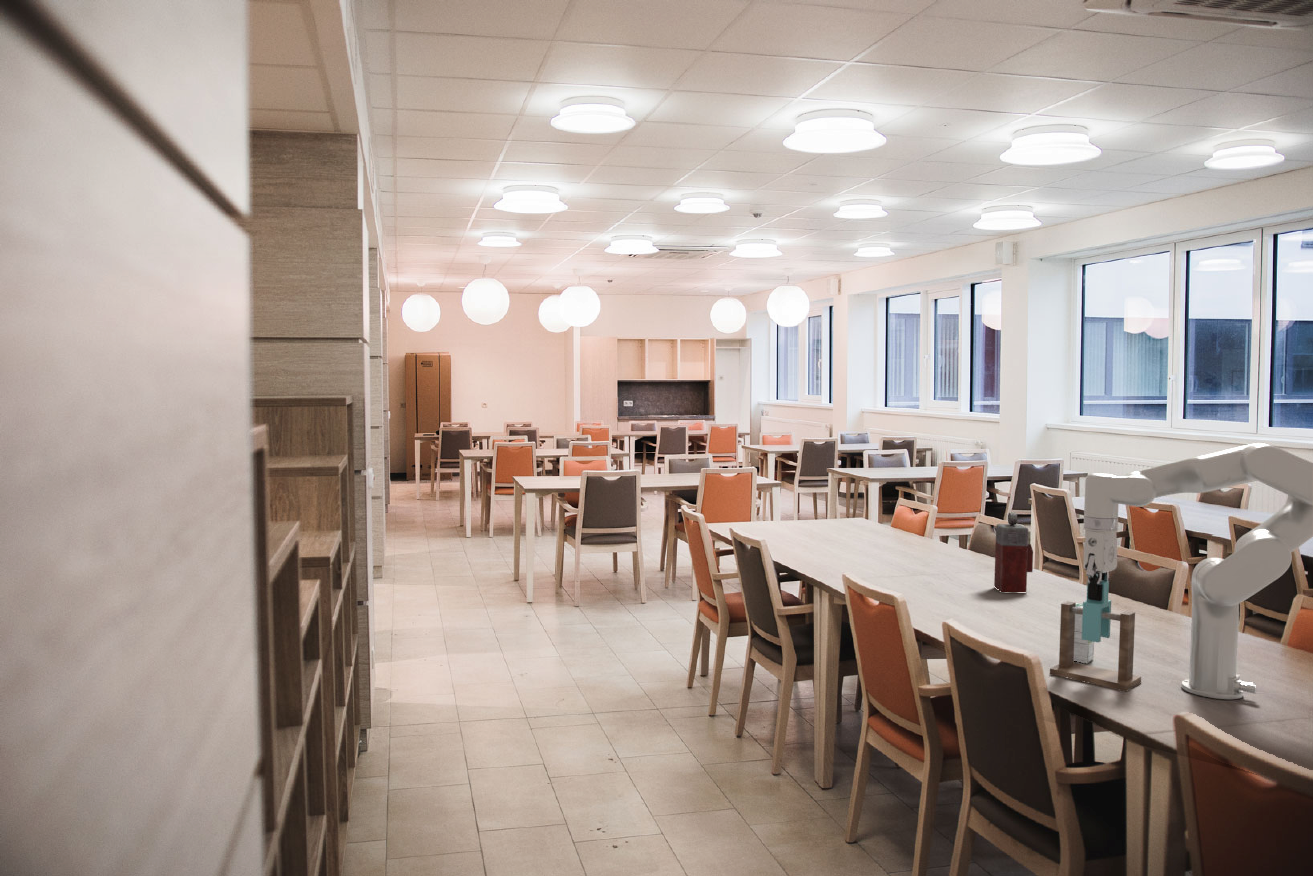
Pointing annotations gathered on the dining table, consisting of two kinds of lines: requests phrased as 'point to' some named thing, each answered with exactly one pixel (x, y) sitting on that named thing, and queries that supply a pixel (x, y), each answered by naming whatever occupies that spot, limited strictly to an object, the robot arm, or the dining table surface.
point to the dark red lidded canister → (1012, 556)
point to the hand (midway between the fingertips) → (1097, 598)
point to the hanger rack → (1089, 673)
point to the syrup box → (1081, 641)
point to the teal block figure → (1096, 616)
